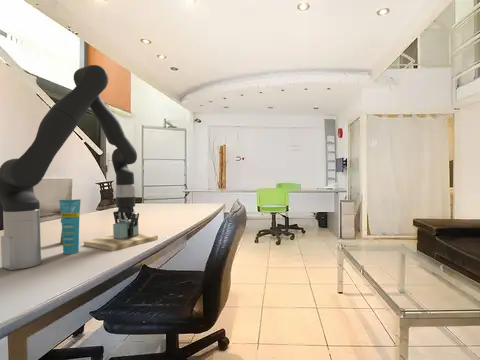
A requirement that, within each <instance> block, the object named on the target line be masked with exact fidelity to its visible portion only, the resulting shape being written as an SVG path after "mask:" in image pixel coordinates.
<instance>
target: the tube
mask: <svg viewBox="0 0 480 360" xmlns="http://www.w3.org/2000/svg"><path fill="white" fill-rule="evenodd" d="M58 202H59V208H60V209H59V210H60V221H61V220H62V223H61V232H62V236H63V244H62V250H63V251H62V253H63V254H64V255H73V254H77V253H79V252H80V251H79V250H80V213H81V203H82V201H81V198H80V199H59V200H58Z"/></svg>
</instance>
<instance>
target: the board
mask: <svg viewBox="0 0 480 360" xmlns="http://www.w3.org/2000/svg"><path fill="white" fill-rule="evenodd" d="M158 237H159V236H158V235H154V234H149V233H142V232H139V235H137V236H133V237H129V238H125V239H122V240H119V239H114V235H108V236H103V237H99V238H98V237H97V238H94V239H89V240H84V241H83V246H85V247H92V248H95V249H101V250H106V251H112V252H113V251H117V250H121V249H125V248H130V247H134V246H138V245H141V244H145V243H147V242H148V243H149V242H152V241H156V240H158V239H159V238H158Z"/></svg>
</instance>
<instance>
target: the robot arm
mask: <svg viewBox="0 0 480 360" xmlns="http://www.w3.org/2000/svg"><path fill="white" fill-rule="evenodd" d="M73 81H74V84H75V87H74V88H73V89H72V90H71V91H69V92H68V93H67V94H66V95H65V96H63V97H62V98H61V99H58V101H57V102H56V103H55V104H53V106H51V108H50V109H49V110H48V111H47V113H46V114H45V115H44V117H42V120H41V121H40V123H39V125H38V128H37V132H36V135H35V138H34V141H33V142H32V143H31V145H29V147H28V148H27V150H25V152H23V154H21V156H20V157H18V158H11V159H8V160H5V162H3V163H2V164H1V166H0V203H1V205H2V211H3V213H2V214H3V215H2V217H3V218H2V219H3V222H2V223H3V235H1V236H0V247H1V248H0V251H1V255H0V256H1V268H3V269H4V270H8V271H14V270H22V269H26V268H27V269H28V268H32V267H36V266H38V265H40V264H41V263H42V249H41V248H42V247H41V246H42V245H41V242H42V241H41V213H40V212H41V211H40V210H41V209H40V205H41V204H40V200H39V199H38V198H37V197H36V195H35V192H34V191H35V190H34V187H35V186H37V185H38V184H39V183H40V182H41V181H42V180H43V178H44V177H45V175H46V173H47V171H48V170H49V167H50V165H51V163H52V162H53V159H54V158H55V157H56V155H57V154H58V152H59V151H60V150H61V148H62V147H63V146H64V144H65V142H67V139H68V138H69V137H70V136H71V135H72V134H73V132H74V130H75V129H76V128H77V126H78V125H79V123H80V122H81V120H82V118H83V117H84V116H85V114H86V113H87V111H88V109H89V108H90V110H91V112H93V115H94V117H95V118H96V120H97V121H98V122H99V123H98V124H99V125H100V127H101V129H102V131H103V134H104V136H105V137H106V140H107V142H108V143H109V144H110V145H112V146H115V149H114V150H113V152H112V154H111V162H112V166H113V170H114V173H115V182H116V183H115V184H116V186H115V206H116V208H118V209H117V210H115V211H113V212H112V213H113V219H114V224H116V223H122V222H126V223H127V227H128V237H133V228H134V227H136V226H137V224H138V225H139V218H140V217H139V216H140V212H135V209H134V208H135V206H136V189H135V174H134V171H132V170H130V169H129V167H128V165H133V164H135V163H136V161H137V159H138V153H137V150H136V149H135V147H134V145H133V144H132V142H131V141H130V140H129V139H128V137H127V136H126V135H125V131H124V129H123V127H122V124H121V123H120V121H119V119H118V118H117V116H116V115H115V114H114V113H113V112H112V111H111V110H110V108H109V107H108V106H107V105H106V103H105V102H104V100H103V98H101V95H100V94H101V93H102V92H104V90H106V88H107V86H108V85H109V75H108V72H107V70H106V69H105V68H104V67H102V66H101V65H97V64H90V65H87V66H83V67H81V68H78V69H77V70H75V72H74V74H73ZM134 222H135V224H134ZM130 223H131V225H130Z"/></svg>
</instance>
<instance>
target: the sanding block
mask: <svg viewBox="0 0 480 360" xmlns="http://www.w3.org/2000/svg"><path fill="white" fill-rule="evenodd" d="M134 224H135V222H134ZM130 225H131V223H130ZM112 231H113V233H112V234H113V235H114V239H119V240H122V239H125V238H129V237H128V227H127V223H126V222H122V223H116V224H115V223H113V224H112ZM139 233H140V232H139V223H138V224H137V226H136V227H134V228H133V236H137V235H139Z"/></svg>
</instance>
